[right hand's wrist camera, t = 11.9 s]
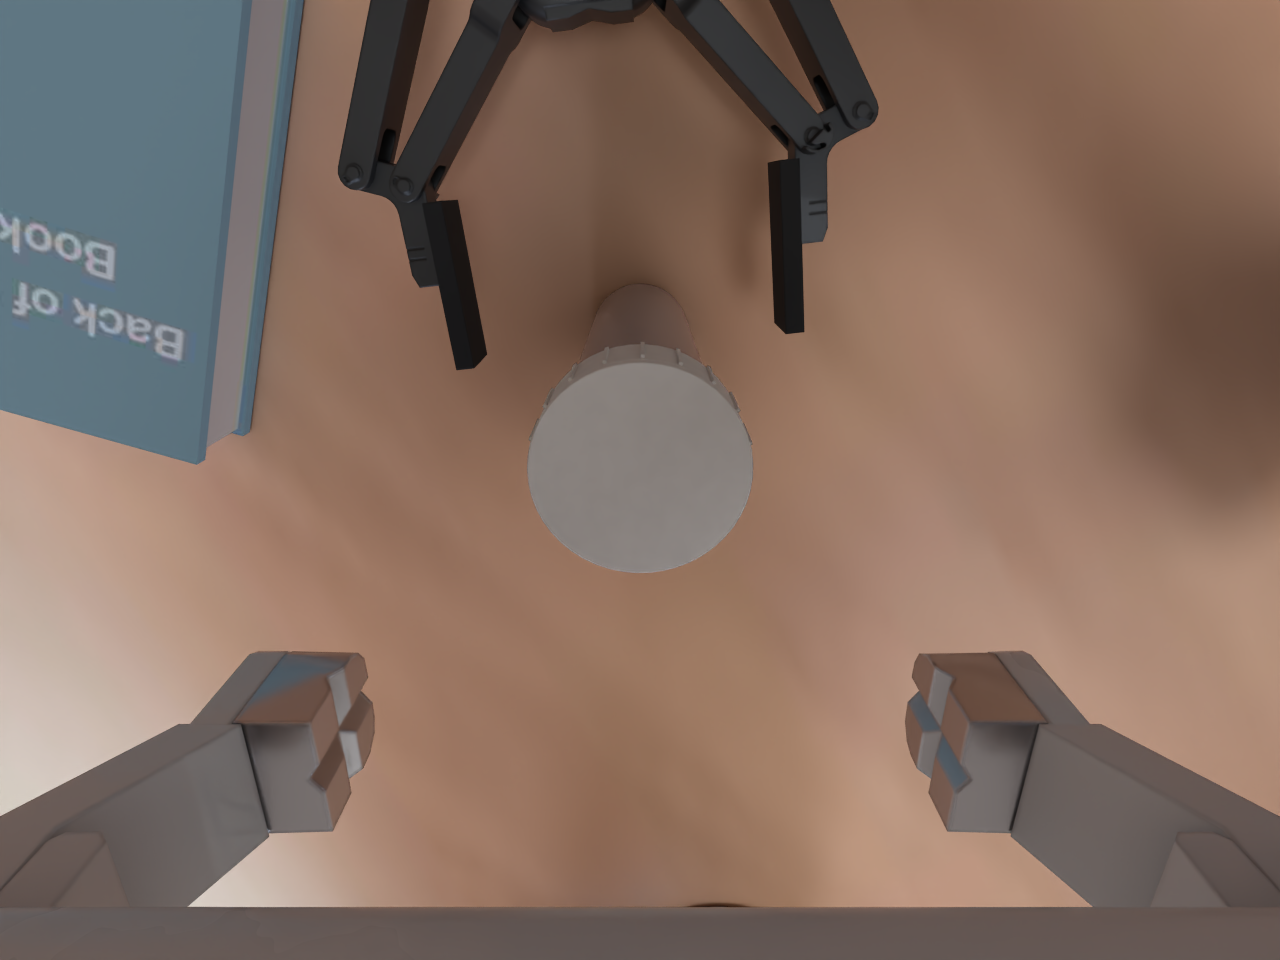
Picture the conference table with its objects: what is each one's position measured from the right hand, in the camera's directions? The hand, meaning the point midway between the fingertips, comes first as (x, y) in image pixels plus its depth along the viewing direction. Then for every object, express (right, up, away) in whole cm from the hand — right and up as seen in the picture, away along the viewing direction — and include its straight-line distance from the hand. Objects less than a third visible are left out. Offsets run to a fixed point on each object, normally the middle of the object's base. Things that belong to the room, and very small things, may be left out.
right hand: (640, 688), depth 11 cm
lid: (0, +3, +8) cm, 9 cm away
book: (-25, +18, +24) cm, 39 cm away
